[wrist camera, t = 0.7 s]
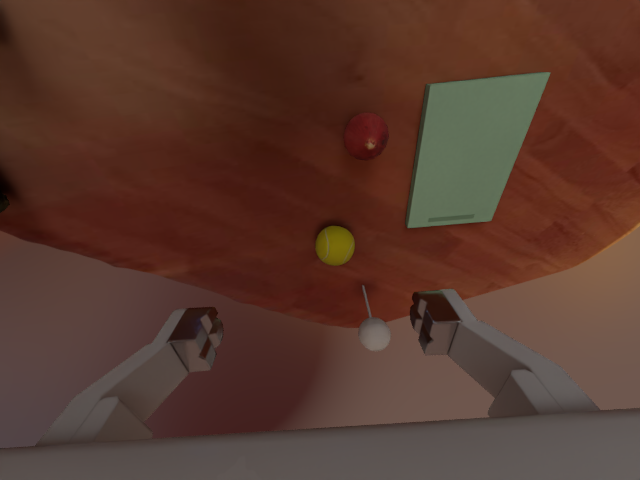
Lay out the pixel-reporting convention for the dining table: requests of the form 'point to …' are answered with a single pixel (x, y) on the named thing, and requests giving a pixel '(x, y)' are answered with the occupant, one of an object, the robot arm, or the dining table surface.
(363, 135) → the onion
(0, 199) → the carnation
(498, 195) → the cutting board
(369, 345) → the lollipop
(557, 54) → the dining table surface
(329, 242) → the tennis ball
